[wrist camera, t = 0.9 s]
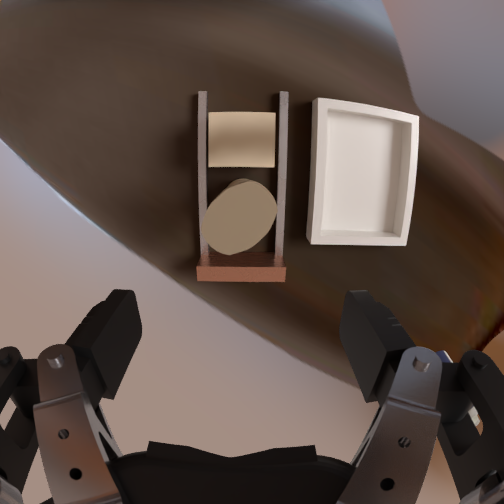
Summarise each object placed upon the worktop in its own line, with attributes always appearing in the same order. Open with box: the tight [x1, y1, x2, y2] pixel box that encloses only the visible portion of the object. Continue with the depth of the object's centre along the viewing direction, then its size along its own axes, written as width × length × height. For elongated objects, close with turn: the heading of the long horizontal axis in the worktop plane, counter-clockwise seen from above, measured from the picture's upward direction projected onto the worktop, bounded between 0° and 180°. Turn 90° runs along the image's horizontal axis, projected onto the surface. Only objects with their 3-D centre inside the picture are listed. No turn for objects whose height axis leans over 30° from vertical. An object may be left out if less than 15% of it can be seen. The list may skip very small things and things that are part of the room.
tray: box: [306, 98, 419, 246], centre depth 34 cm, size 18×14×3 cm
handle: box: [201, 178, 278, 255], centre depth 29 cm, size 5×6×15 cm
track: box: [196, 91, 288, 282], centre depth 33 cm, size 24×11×5 cm, turn 179°
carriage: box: [209, 112, 276, 167], centre depth 31 cm, size 6×7×6 cm
